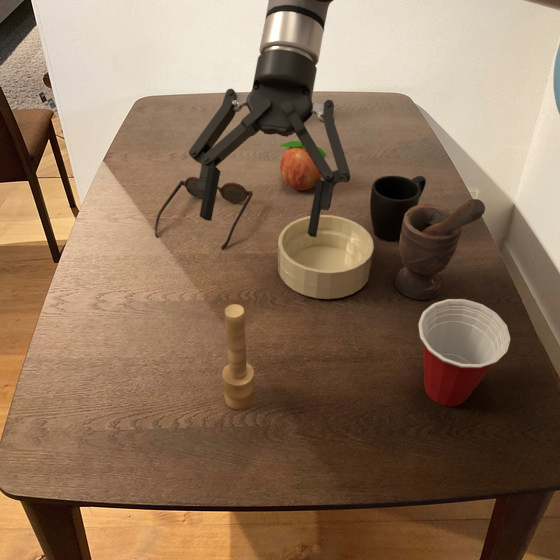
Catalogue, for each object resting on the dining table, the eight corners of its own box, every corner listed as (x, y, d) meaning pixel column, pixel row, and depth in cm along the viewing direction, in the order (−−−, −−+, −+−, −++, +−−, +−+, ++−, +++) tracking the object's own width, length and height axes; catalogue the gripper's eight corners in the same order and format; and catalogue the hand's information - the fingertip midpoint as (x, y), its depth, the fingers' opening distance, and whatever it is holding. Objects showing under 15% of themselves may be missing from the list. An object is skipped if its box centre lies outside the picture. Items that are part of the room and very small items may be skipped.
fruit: (307, 202, 112) (309, 156, 105) (268, 186, 116) (268, 141, 110) (332, 184, 117) (335, 139, 110) (294, 169, 121) (295, 125, 115)
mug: (434, 227, 106) (444, 182, 100) (390, 252, 100) (398, 206, 94) (400, 207, 111) (408, 163, 105) (356, 230, 105) (362, 185, 99)
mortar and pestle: (471, 290, 93) (504, 183, 80) (449, 321, 88) (480, 211, 75) (406, 263, 98) (427, 158, 85) (382, 290, 93) (400, 183, 80)
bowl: (378, 253, 100) (382, 225, 96) (356, 311, 89) (360, 282, 85) (295, 235, 104) (296, 207, 100) (265, 288, 93) (264, 259, 89)
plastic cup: (389, 396, 77) (403, 334, 69) (426, 348, 83) (442, 286, 76) (466, 439, 72) (490, 377, 64) (499, 385, 79) (524, 322, 71)
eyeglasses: (253, 205, 111) (252, 182, 108) (228, 251, 100) (226, 227, 97) (182, 194, 114) (179, 171, 111) (150, 237, 103) (146, 214, 100)
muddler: (259, 390, 78) (257, 303, 67) (247, 413, 75) (243, 326, 64) (231, 382, 79) (225, 295, 68) (219, 404, 76) (211, 317, 65)
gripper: (387, 83, 74) (359, 246, 73) (202, 64, 78) (173, 217, 77) (388, 56, 66) (357, 237, 65) (184, 36, 71) (151, 205, 70)
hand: (257, 227), depth 71 cm, fingers open, 13 cm apart
